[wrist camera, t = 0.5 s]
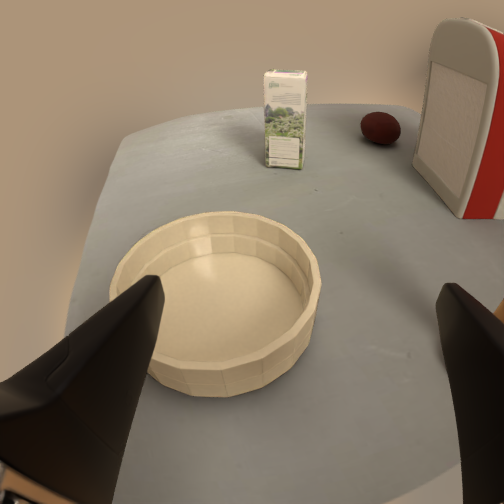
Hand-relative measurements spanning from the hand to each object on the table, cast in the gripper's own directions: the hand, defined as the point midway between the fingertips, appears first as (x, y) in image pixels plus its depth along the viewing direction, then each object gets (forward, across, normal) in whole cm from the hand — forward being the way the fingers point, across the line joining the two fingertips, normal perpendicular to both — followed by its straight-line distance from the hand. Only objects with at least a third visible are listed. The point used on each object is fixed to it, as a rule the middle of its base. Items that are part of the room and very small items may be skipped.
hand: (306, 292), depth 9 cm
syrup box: (+41, 0, +11) cm, 43 cm away
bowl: (+12, +6, +14) cm, 19 cm away
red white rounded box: (+37, -31, +11) cm, 49 cm away
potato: (+53, -18, +10) cm, 56 cm away
